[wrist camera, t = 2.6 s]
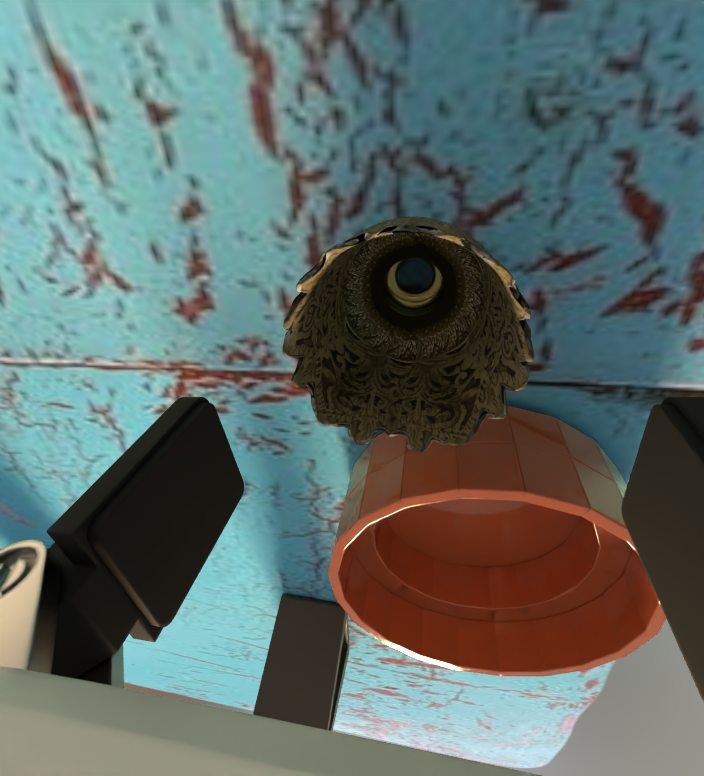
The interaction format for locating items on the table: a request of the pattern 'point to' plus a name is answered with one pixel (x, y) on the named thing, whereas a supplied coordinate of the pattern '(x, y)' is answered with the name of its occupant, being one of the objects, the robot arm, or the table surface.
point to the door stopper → (305, 663)
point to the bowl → (494, 551)
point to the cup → (409, 335)
